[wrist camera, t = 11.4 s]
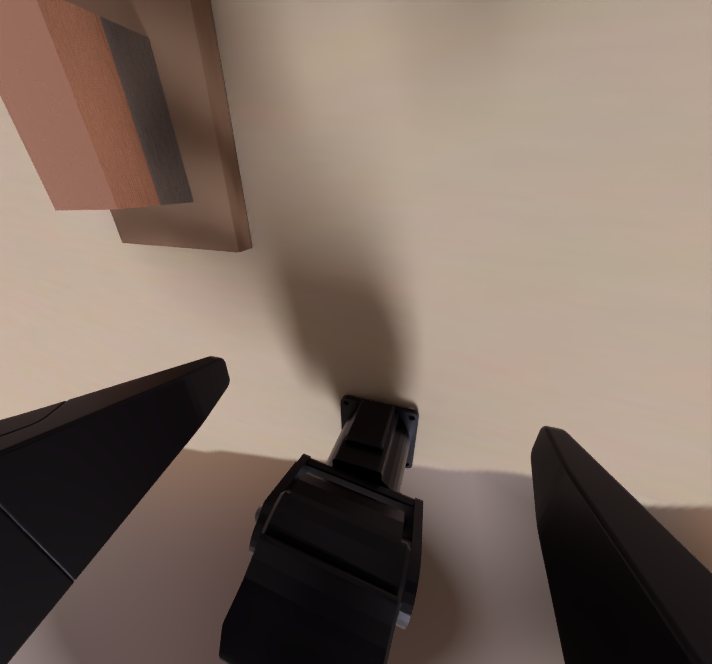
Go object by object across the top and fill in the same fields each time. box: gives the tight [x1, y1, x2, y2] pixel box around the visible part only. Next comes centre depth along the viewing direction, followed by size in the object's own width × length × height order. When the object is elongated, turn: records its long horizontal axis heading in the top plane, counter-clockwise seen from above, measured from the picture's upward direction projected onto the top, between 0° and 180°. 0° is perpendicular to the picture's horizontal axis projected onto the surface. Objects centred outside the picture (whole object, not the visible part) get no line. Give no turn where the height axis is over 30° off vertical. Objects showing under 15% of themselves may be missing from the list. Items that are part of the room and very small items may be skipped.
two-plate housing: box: [0, 0, 194, 210], centre depth 16 cm, size 5×8×5 cm, turn 3°
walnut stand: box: [65, 0, 252, 252], centre depth 19 cm, size 14×11×2 cm
